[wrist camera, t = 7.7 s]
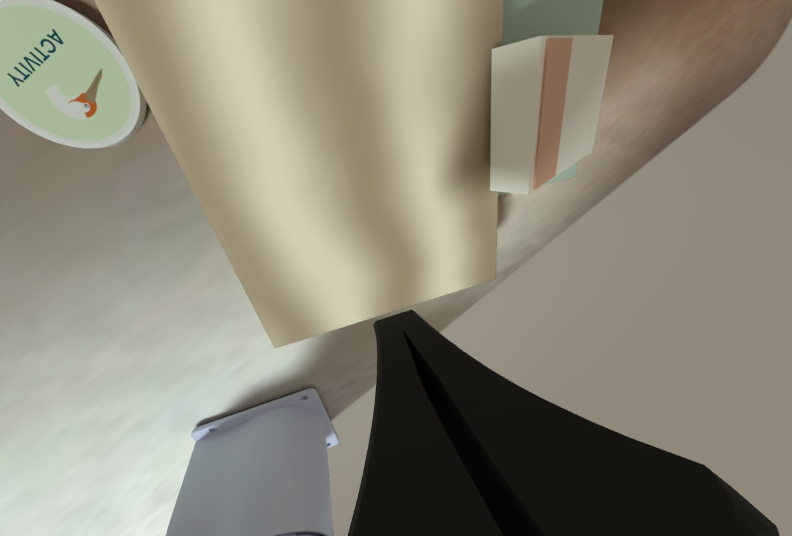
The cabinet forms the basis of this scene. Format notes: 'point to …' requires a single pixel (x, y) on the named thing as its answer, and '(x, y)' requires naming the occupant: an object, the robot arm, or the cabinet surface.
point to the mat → (549, 29)
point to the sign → (65, 76)
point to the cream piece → (328, 144)
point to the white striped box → (544, 107)
